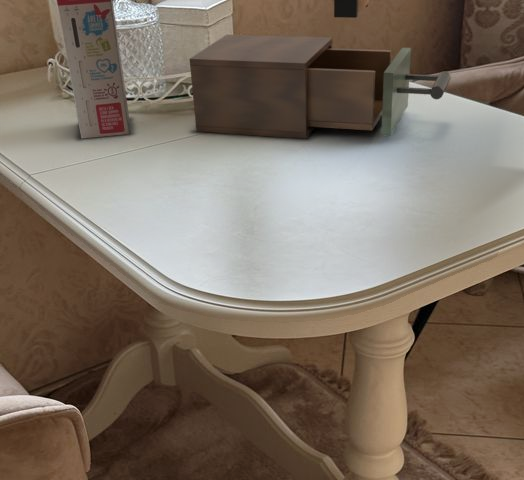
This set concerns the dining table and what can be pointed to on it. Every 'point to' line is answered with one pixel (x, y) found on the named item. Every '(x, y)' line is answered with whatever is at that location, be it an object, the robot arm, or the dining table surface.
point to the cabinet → (254, 84)
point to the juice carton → (95, 66)
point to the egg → (361, 4)
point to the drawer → (363, 88)
